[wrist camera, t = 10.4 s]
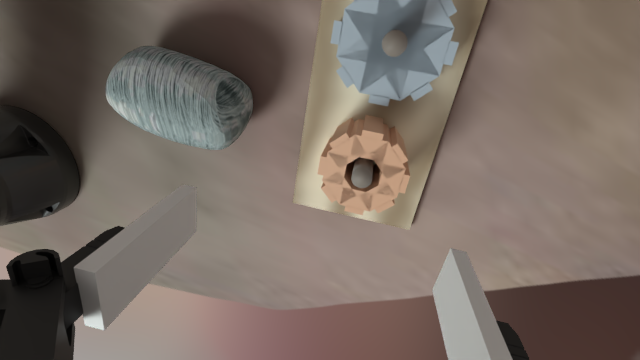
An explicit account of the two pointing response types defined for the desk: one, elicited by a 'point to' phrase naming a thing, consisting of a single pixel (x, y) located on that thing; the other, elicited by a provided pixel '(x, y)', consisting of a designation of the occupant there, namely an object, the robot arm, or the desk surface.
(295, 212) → the desk surface
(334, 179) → the loose gear
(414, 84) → the gear
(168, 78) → the spool
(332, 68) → the gear board
